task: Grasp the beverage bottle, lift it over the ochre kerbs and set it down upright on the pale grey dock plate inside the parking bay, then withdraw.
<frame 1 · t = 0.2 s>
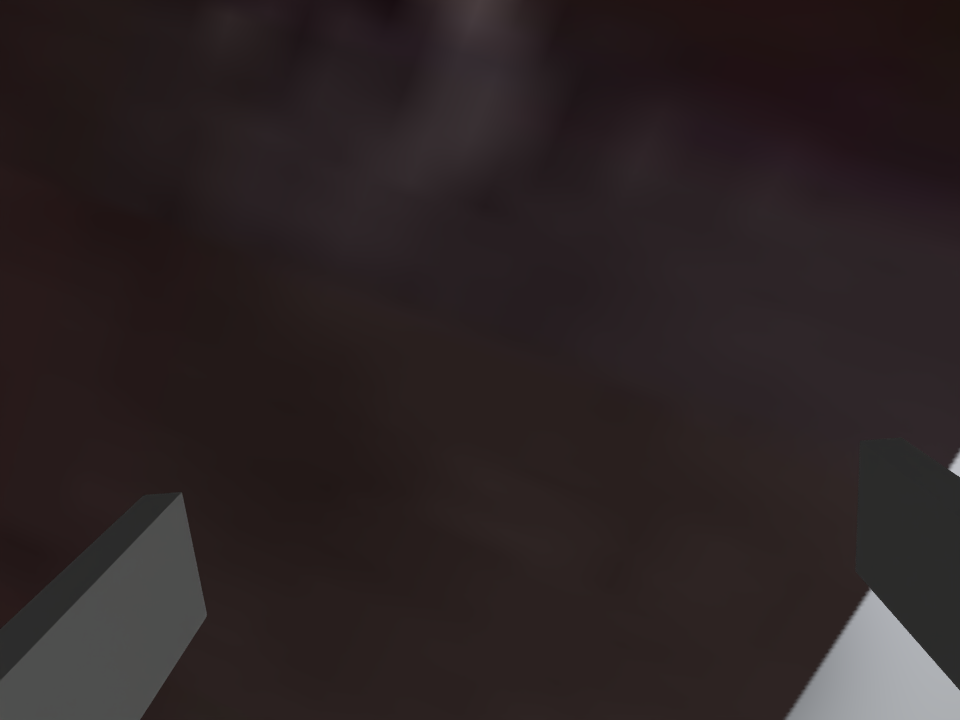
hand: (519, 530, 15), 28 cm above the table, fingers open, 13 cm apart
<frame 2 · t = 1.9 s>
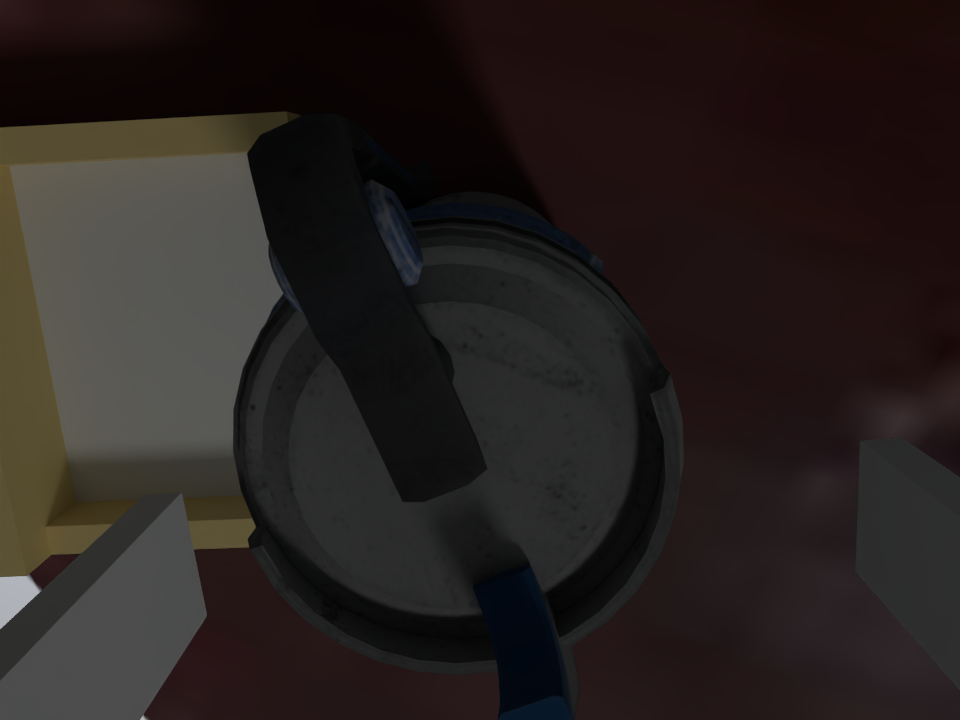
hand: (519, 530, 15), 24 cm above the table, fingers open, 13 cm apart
beverage bottle: (467, 278, 38), on the table
dock bay: (193, 331, 38), on the table
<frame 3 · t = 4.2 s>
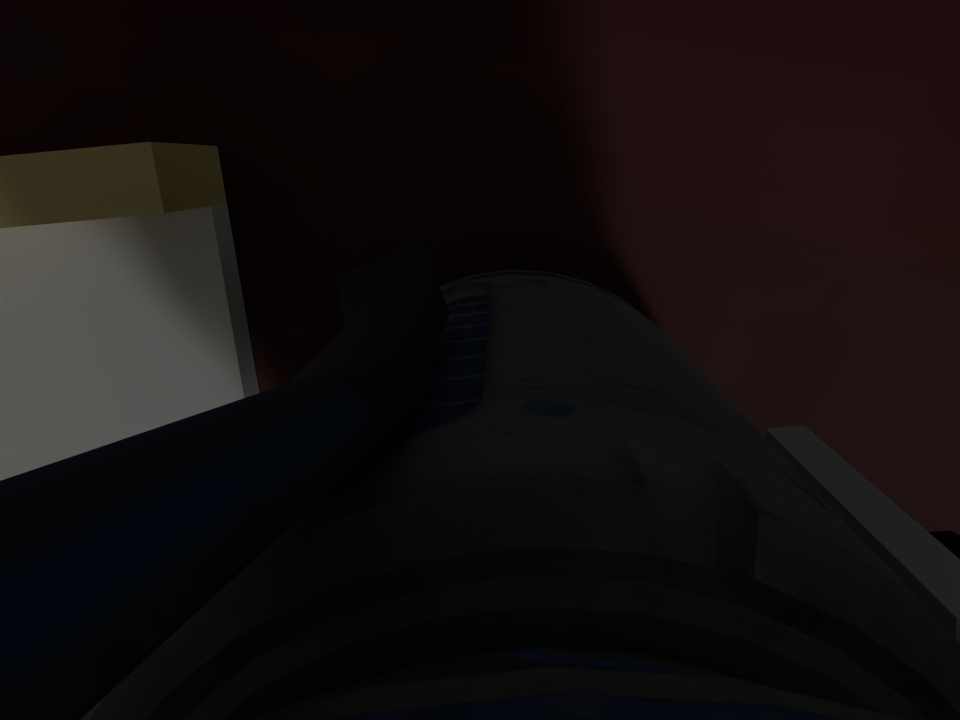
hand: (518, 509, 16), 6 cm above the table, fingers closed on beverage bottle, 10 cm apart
beverage bottle: (503, 410, 22), on the table, touching gripper
dock bay: (46, 512, 23), on the table
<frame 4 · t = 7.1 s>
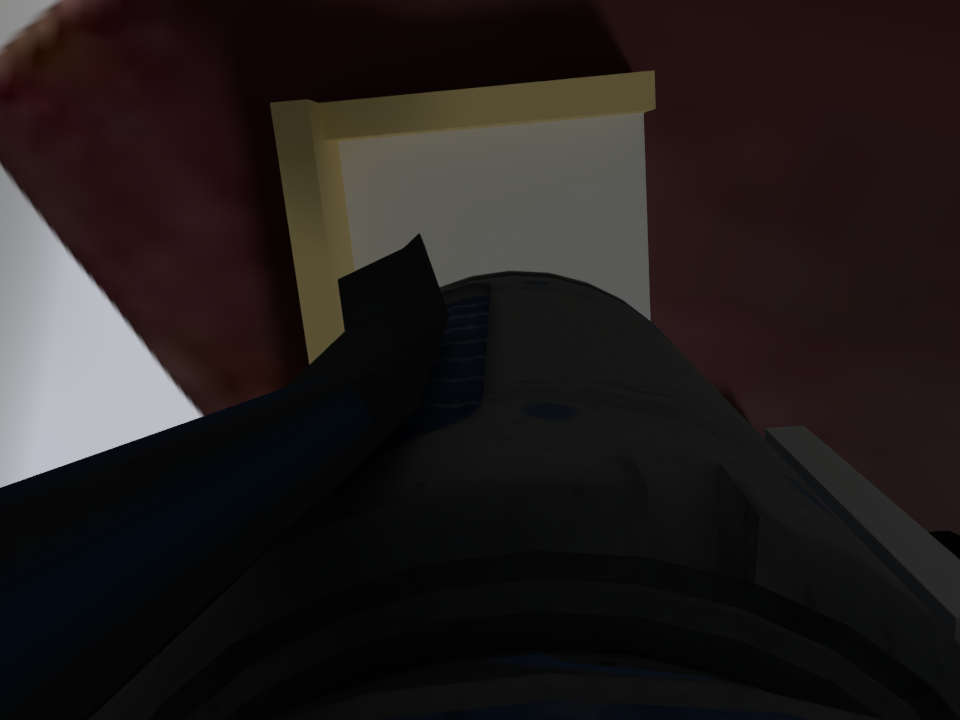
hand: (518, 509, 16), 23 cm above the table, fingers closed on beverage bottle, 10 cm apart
beverage bottle: (503, 411, 22), point 17 cm above the table, touching gripper
dock bay: (504, 305, 38), on the table
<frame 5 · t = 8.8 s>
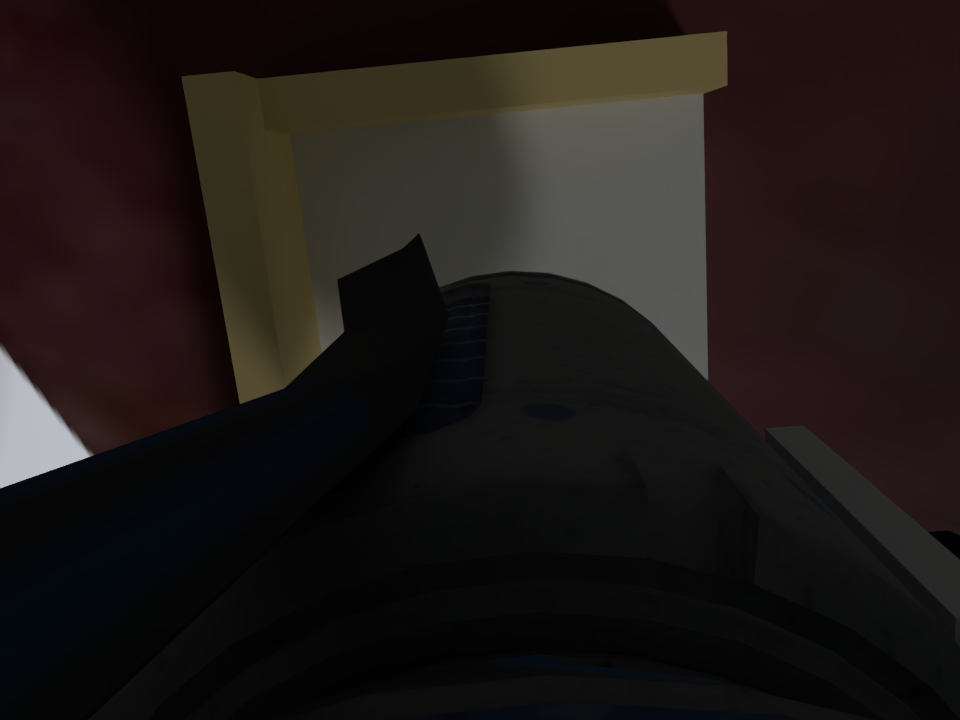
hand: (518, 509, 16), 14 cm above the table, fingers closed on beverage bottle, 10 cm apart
beverage bottle: (503, 411, 22), point 7 cm above the table, touching gripper
dock bay: (513, 349, 29), on the table
when the fingers open (9 cm above the table, at t = 10.2 s): beverage bottle drops 2 cm, resting on dock bay.
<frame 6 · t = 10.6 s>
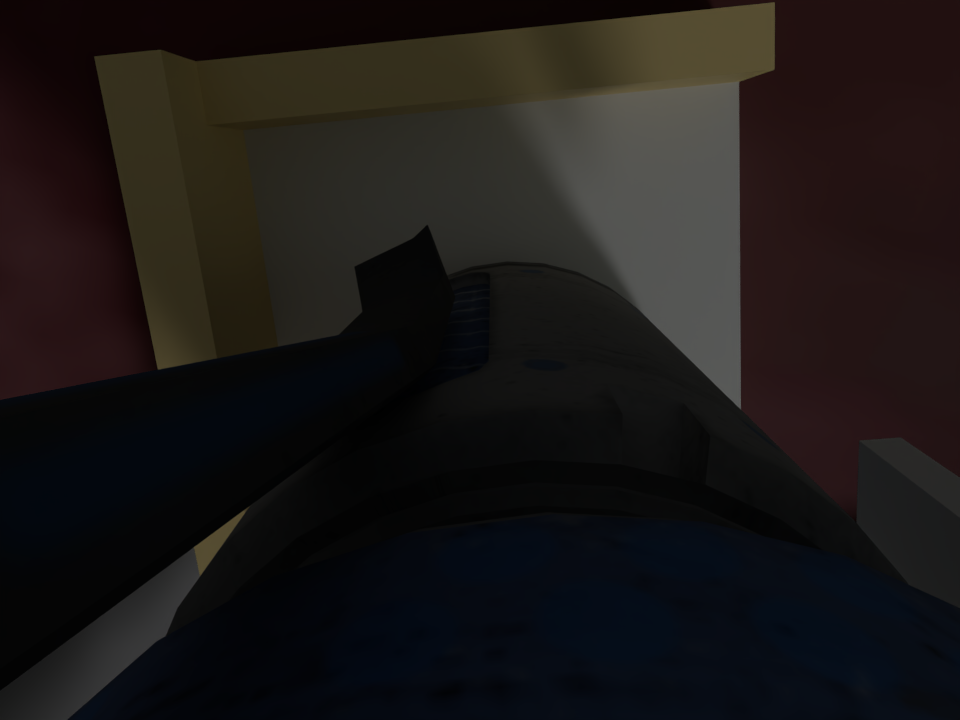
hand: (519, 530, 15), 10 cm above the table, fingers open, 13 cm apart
beverage bottle: (501, 393, 24), point 1 cm above the table, touching dock bay
dock bay: (511, 383, 25), on the table
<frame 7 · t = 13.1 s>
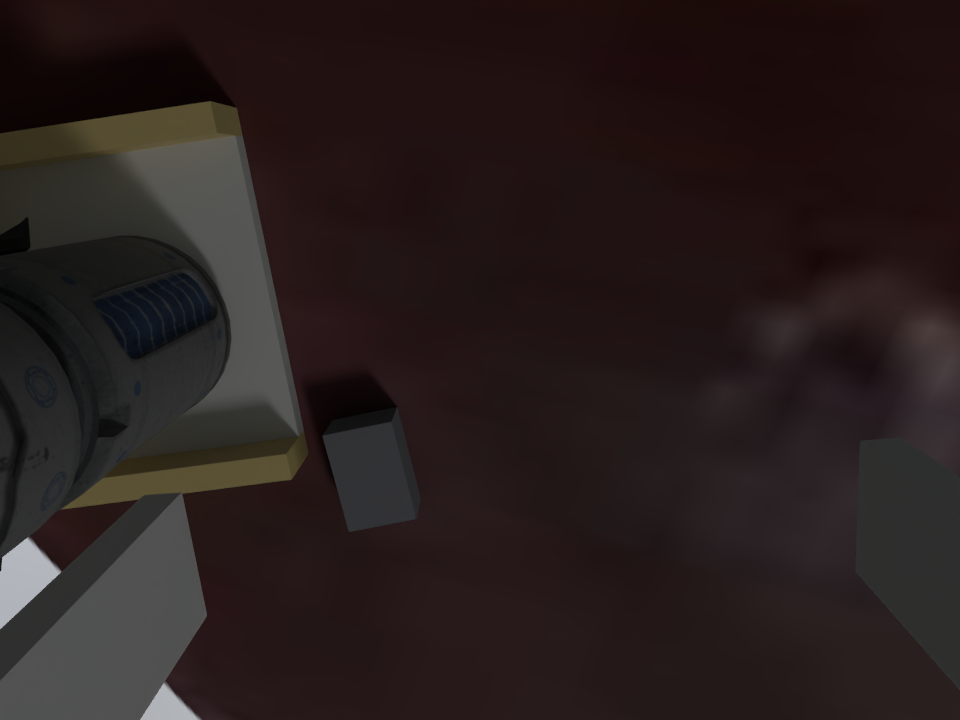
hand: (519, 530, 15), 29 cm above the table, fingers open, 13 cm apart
beverage bottle: (142, 310, 43), point 1 cm above the table, touching dock bay
dock bay: (155, 306, 44), on the table
gray rectangular block: (377, 458, 46), on the table
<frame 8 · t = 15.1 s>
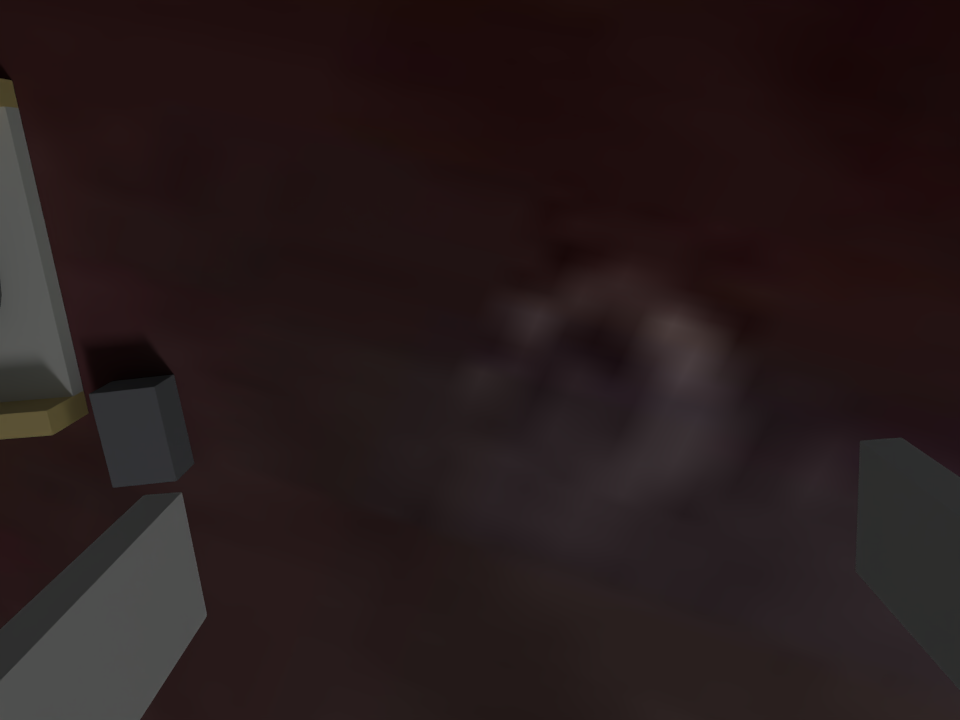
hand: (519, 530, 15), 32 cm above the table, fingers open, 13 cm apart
gray rectangular block: (155, 421, 48), on the table
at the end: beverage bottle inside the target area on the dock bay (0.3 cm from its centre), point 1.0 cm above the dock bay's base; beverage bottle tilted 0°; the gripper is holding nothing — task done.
